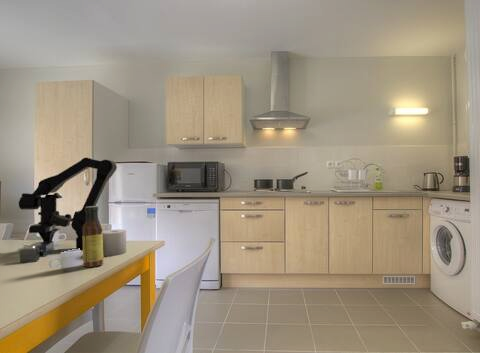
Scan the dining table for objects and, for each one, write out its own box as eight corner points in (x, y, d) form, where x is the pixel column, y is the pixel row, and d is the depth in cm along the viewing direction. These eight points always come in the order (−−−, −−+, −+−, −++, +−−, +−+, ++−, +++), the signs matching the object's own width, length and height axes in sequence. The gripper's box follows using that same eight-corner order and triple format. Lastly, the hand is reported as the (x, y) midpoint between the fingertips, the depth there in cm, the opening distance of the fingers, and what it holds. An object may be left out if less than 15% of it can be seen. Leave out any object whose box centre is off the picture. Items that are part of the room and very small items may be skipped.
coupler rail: (49, 252, 123) (49, 239, 123) (35, 262, 109) (35, 247, 109) (35, 253, 122) (35, 240, 122) (19, 263, 108) (19, 248, 108)
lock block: (53, 251, 126) (53, 241, 126) (46, 256, 117) (46, 245, 117) (36, 252, 124) (36, 242, 124) (27, 257, 116) (27, 246, 116)
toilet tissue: (92, 258, 113) (92, 235, 113) (106, 250, 127) (106, 229, 127) (117, 258, 113) (117, 235, 114) (129, 250, 127) (129, 229, 127)
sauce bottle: (107, 263, 106) (107, 206, 106) (93, 268, 100) (93, 207, 100) (92, 262, 108) (92, 205, 108) (77, 267, 102) (77, 207, 103)
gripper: (58, 211, 121) (58, 250, 121) (77, 207, 140) (77, 241, 139) (28, 211, 120) (27, 251, 120) (51, 207, 138) (51, 242, 138)
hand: (48, 246), depth 129 cm, fingers closed
